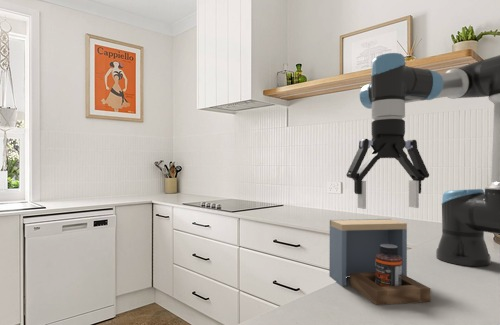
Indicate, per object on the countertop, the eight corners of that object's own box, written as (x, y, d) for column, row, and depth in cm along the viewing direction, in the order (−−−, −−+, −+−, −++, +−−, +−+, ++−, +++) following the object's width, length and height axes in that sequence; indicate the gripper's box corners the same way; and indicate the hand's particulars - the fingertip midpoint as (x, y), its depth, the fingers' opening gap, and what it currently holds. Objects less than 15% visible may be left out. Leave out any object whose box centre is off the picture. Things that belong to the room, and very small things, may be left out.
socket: (396, 282, 91) (396, 271, 91) (430, 301, 78) (430, 288, 78) (350, 284, 88) (350, 273, 88) (376, 304, 76) (376, 291, 76)
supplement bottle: (370, 292, 83) (370, 245, 83) (381, 286, 87) (381, 241, 88) (395, 299, 79) (395, 249, 79) (405, 293, 83) (406, 245, 83)
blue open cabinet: (389, 273, 98) (389, 218, 99) (406, 282, 90) (406, 223, 91) (329, 276, 95) (329, 219, 96) (341, 286, 88) (341, 224, 88)
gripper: (424, 122, 89) (424, 205, 89) (332, 120, 85) (332, 206, 85) (445, 119, 82) (445, 208, 82) (346, 116, 78) (346, 210, 78)
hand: (388, 207), depth 83 cm, fingers open, 13 cm apart
